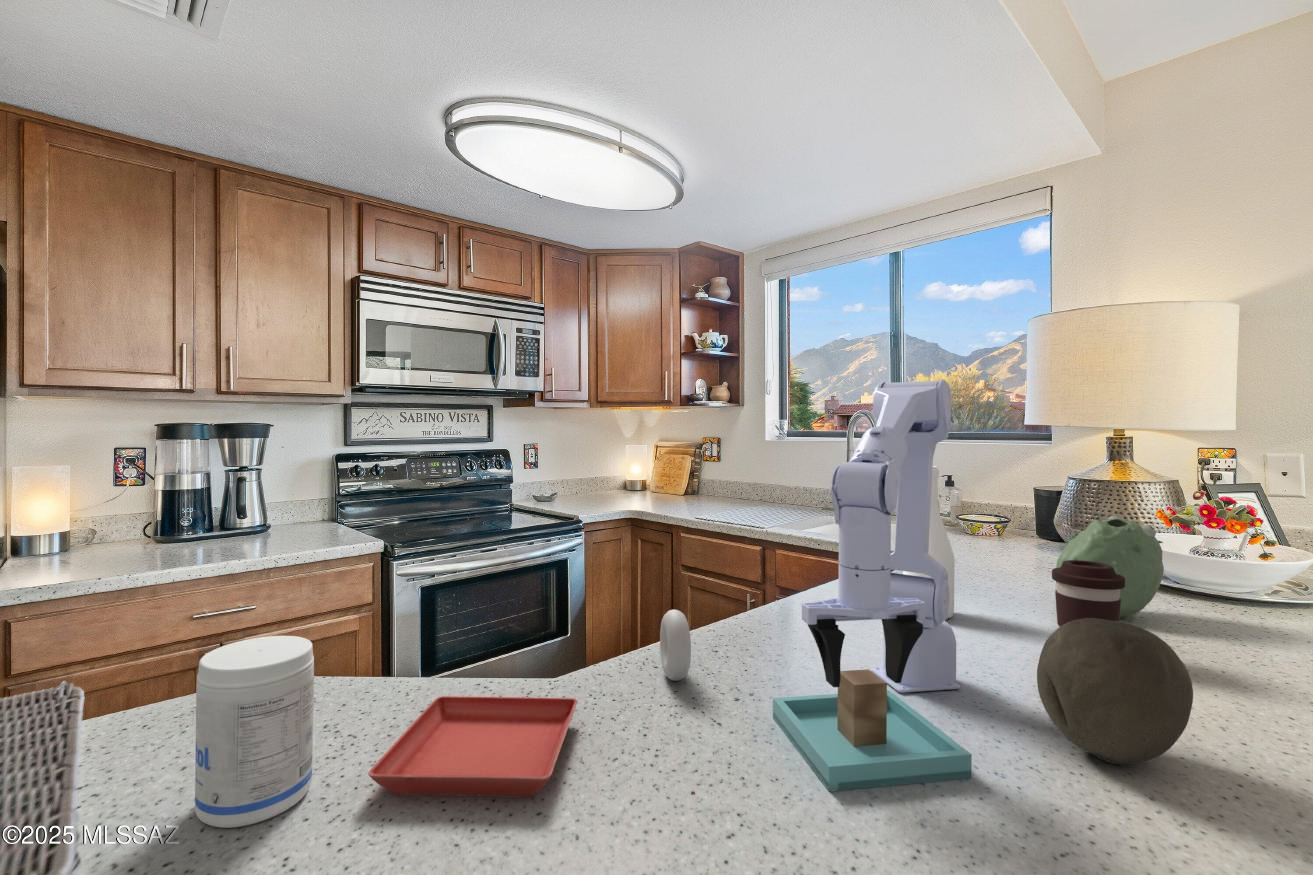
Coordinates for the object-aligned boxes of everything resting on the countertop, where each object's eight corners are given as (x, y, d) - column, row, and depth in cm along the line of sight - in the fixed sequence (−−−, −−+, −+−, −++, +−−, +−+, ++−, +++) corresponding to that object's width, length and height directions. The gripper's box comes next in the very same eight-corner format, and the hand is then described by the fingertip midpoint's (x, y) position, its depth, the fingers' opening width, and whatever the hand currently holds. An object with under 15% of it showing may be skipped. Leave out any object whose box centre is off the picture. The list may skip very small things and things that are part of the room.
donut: (693, 691, 84) (694, 620, 84) (669, 693, 83) (669, 621, 83) (679, 664, 94) (679, 601, 94) (657, 665, 93) (658, 601, 93)
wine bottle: (963, 621, 117) (964, 467, 117) (914, 621, 117) (915, 467, 117) (940, 607, 126) (941, 465, 126) (895, 607, 126) (896, 464, 126)
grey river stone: (1208, 806, 58) (1210, 653, 58) (1036, 763, 66) (1038, 627, 66) (1178, 744, 70) (1179, 616, 70) (1035, 713, 78) (1037, 598, 78)
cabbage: (1036, 607, 127) (1037, 513, 127) (1108, 602, 131) (1109, 511, 131) (1107, 630, 112) (1108, 523, 112) (1186, 624, 116) (1187, 521, 116)
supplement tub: (183, 803, 58) (183, 651, 58) (292, 762, 65) (292, 627, 65) (211, 848, 52) (212, 678, 52) (329, 798, 59) (329, 648, 59)
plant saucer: (437, 719, 76) (437, 693, 76) (578, 722, 76) (579, 695, 76) (364, 808, 58) (364, 774, 58) (549, 812, 57) (550, 778, 57)
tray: (888, 709, 79) (888, 690, 79) (971, 777, 63) (971, 754, 63) (772, 717, 76) (773, 697, 76) (828, 791, 61) (829, 766, 61)
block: (868, 727, 72) (869, 669, 72) (886, 743, 68) (886, 682, 68) (837, 729, 72) (837, 671, 72) (853, 746, 68) (854, 684, 68)
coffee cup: (1058, 659, 97) (1059, 567, 97) (1045, 640, 106) (1046, 555, 106) (1133, 668, 93) (1134, 572, 93) (1112, 648, 103) (1113, 560, 103)
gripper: (820, 575, 65) (819, 700, 65) (942, 570, 67) (941, 692, 67) (794, 561, 71) (794, 674, 72) (906, 557, 74) (905, 667, 74)
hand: (863, 681), depth 70 cm, fingers open, 7 cm apart
